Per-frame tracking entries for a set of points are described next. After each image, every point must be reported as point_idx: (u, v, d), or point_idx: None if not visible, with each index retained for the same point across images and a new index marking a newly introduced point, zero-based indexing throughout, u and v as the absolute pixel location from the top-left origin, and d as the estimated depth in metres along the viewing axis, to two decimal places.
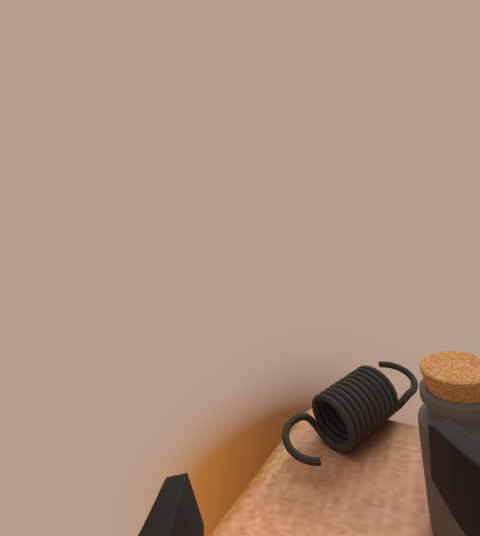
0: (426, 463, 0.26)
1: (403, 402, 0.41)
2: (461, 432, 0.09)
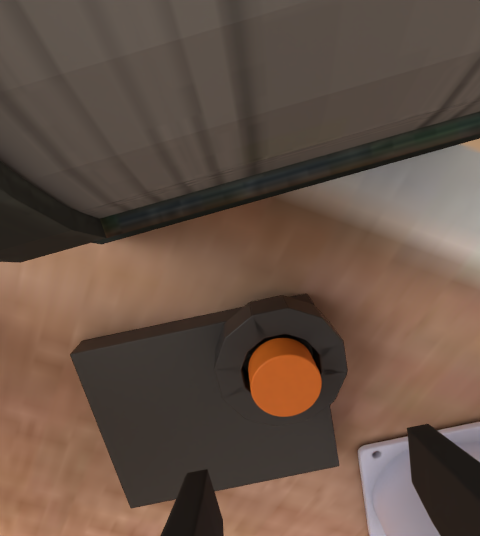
0: None
1: None
2: (439, 437, 0.09)
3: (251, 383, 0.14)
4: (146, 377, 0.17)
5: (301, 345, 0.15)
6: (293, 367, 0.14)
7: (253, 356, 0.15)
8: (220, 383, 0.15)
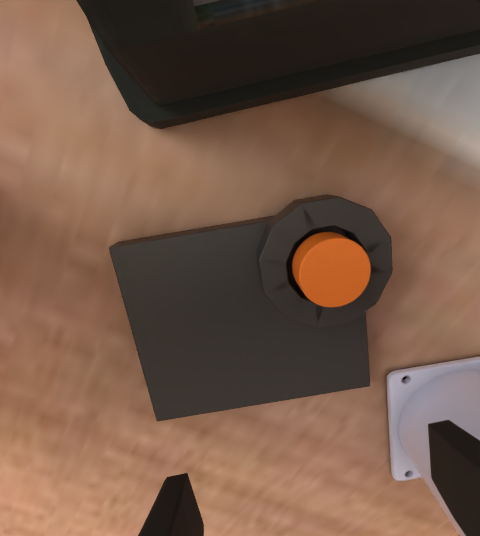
0: None
1: None
2: (461, 432, 0.09)
3: (300, 268, 0.14)
4: (184, 277, 0.16)
5: None
6: (344, 252, 0.13)
7: (299, 248, 0.15)
8: (264, 277, 0.15)
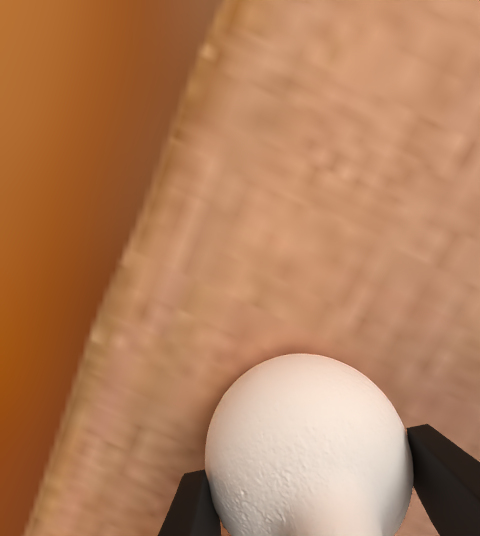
0: None
1: None
2: (438, 437, 0.09)
3: None
4: None
5: None
6: None
7: None
8: None
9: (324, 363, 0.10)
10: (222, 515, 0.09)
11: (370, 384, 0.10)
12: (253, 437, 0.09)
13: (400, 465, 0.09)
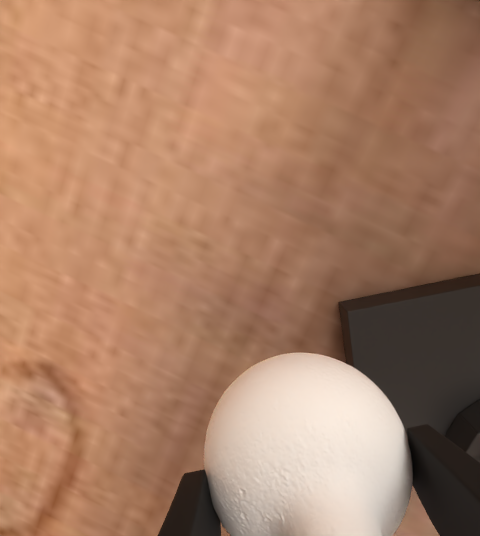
0: None
1: None
2: (438, 437, 0.09)
3: None
4: None
5: None
6: None
7: None
8: None
9: (323, 362, 0.10)
10: (221, 514, 0.09)
11: (369, 383, 0.10)
12: (252, 436, 0.09)
13: (399, 464, 0.09)
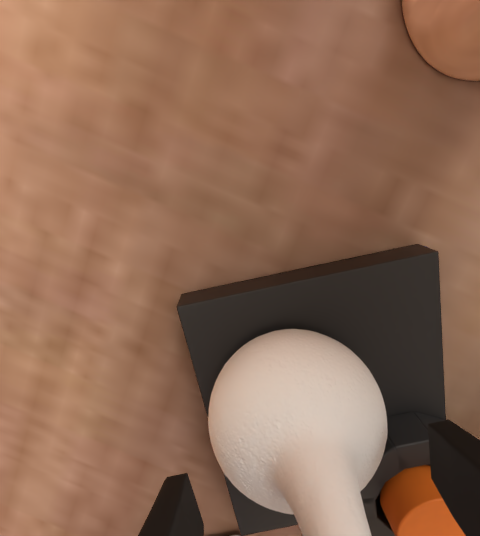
0: None
1: None
2: (461, 432, 0.09)
3: None
4: (390, 338, 0.13)
5: None
6: (460, 534, 0.13)
7: None
8: (415, 445, 0.13)
9: (311, 335, 0.12)
10: (223, 463, 0.11)
11: (351, 353, 0.12)
12: (249, 394, 0.10)
13: (374, 418, 0.10)
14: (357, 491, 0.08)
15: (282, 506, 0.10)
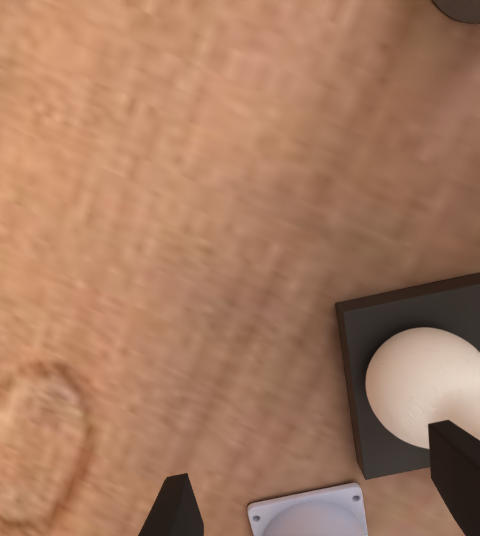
0: None
1: None
2: (461, 432, 0.09)
3: None
4: None
5: None
6: None
7: None
8: None
9: (442, 331, 0.17)
10: (391, 415, 0.17)
11: (469, 343, 0.17)
12: (414, 369, 0.16)
13: None
14: None
15: None
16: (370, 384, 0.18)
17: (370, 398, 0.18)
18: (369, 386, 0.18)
